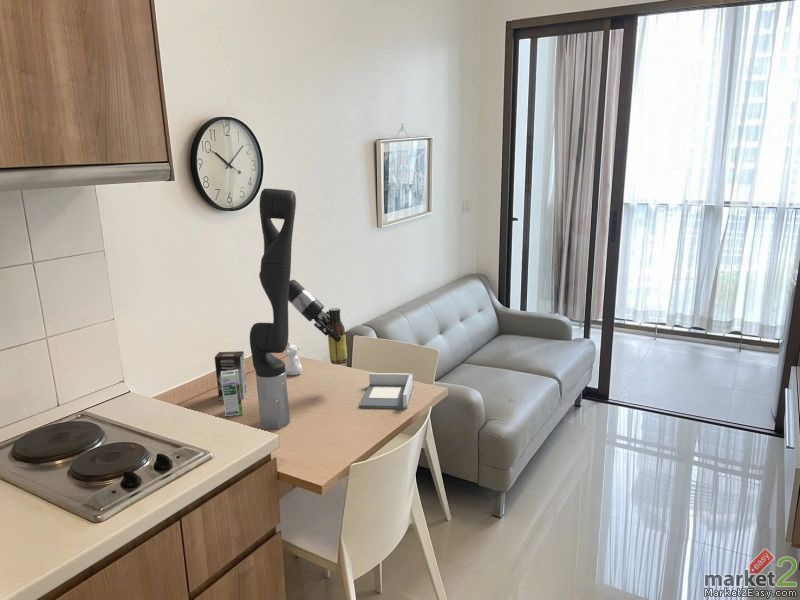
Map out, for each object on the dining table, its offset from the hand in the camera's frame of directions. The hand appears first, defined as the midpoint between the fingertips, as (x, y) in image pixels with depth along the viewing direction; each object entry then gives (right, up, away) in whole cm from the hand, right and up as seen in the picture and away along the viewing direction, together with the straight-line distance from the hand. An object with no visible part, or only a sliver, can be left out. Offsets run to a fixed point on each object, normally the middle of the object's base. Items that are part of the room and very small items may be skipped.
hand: (341, 337), depth 212 cm
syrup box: (-35, -25, -12) cm, 45 cm away
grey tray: (+16, -21, -3) cm, 27 cm away
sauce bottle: (-1, -9, +2) cm, 10 cm away
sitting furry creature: (-21, -16, +23) cm, 35 cm away
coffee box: (-39, -22, +2) cm, 45 cm away
